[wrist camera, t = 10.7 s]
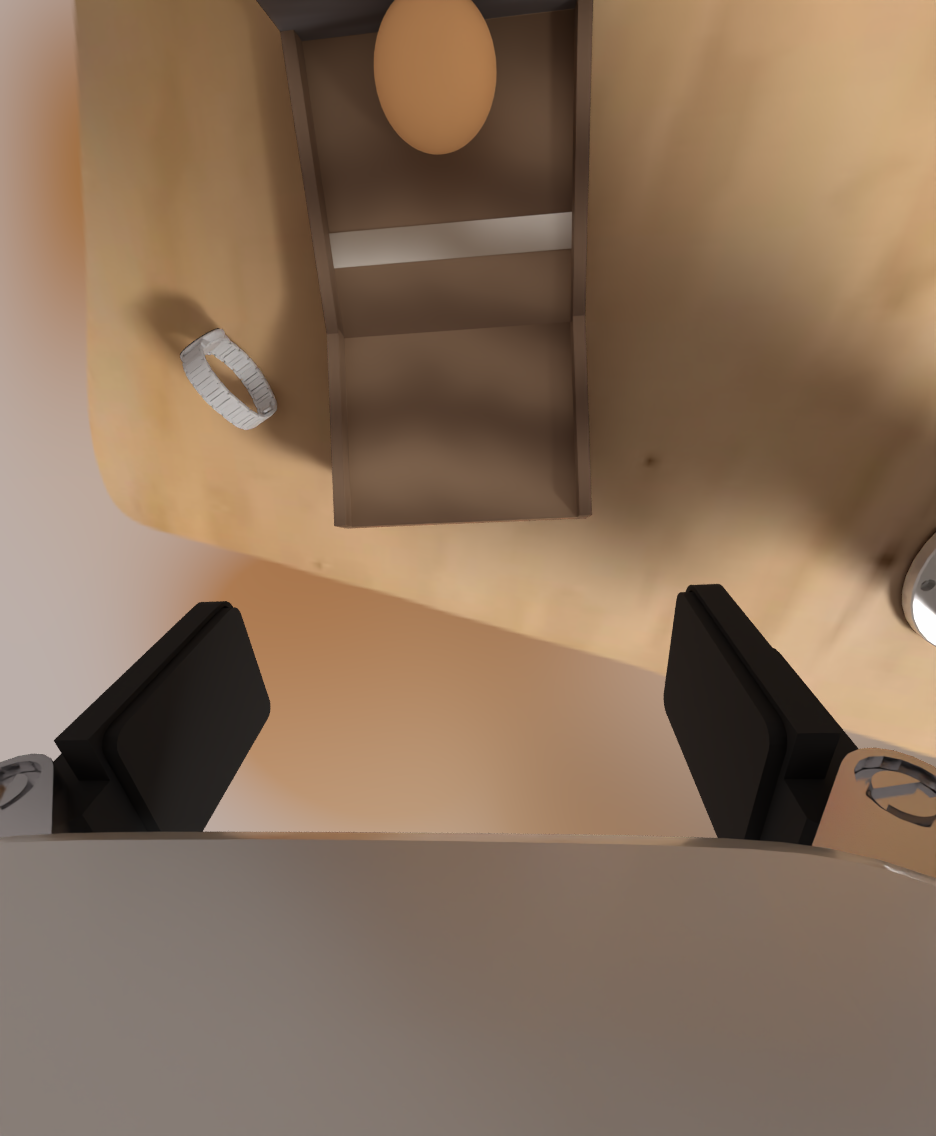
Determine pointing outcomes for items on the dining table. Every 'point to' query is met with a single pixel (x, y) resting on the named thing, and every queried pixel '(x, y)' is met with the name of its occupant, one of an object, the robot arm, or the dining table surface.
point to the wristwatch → (209, 382)
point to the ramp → (450, 272)
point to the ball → (435, 72)
